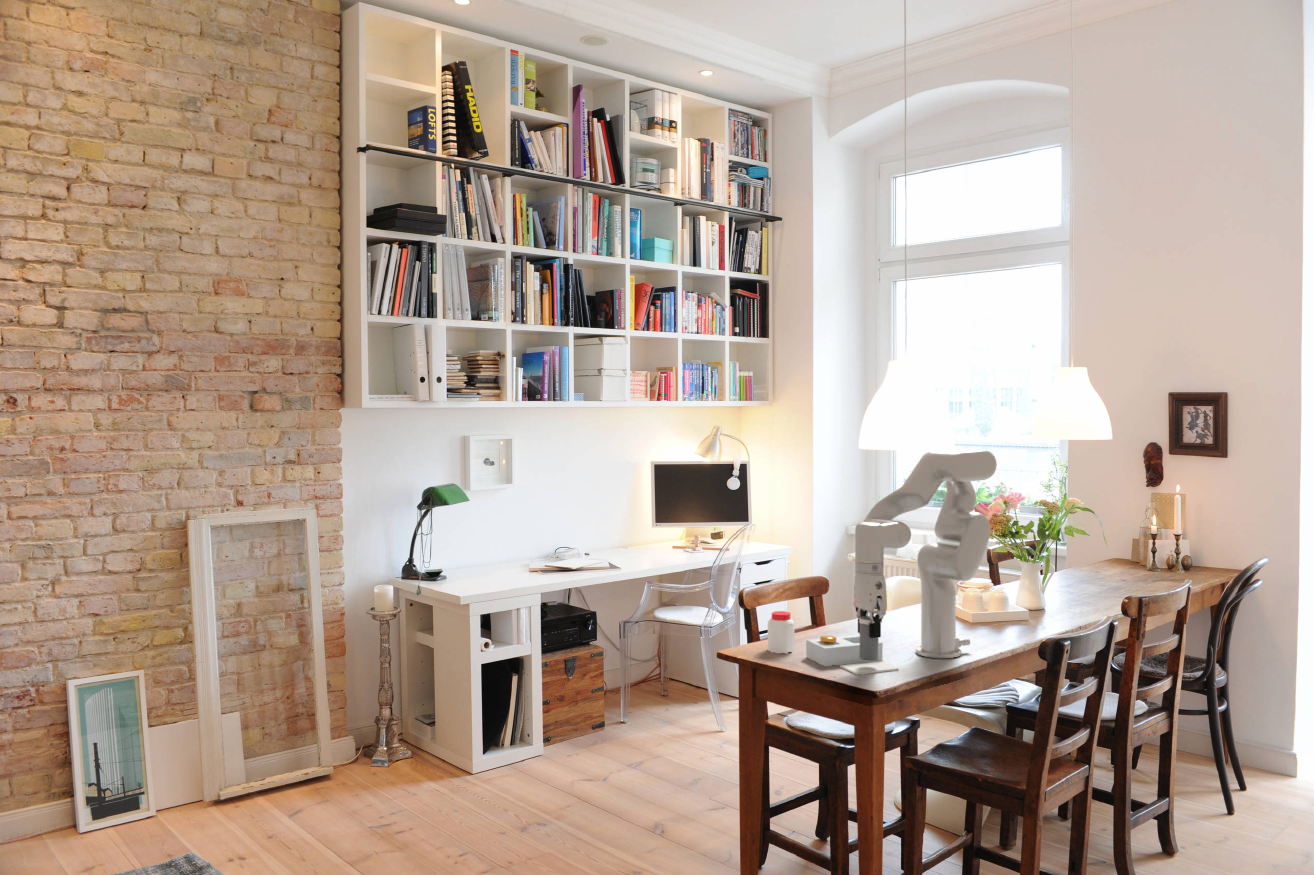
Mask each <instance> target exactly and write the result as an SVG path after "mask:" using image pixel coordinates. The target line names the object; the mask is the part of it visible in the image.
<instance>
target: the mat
mask: <svg viewBox="0 0 1314 875" xmlns="http://www.w3.org/2000/svg"><path fill="white" fill-rule="evenodd" d="M839 667H840V669H843V670H846V671H847V672H849V673H851V672H852V674H853V675H855V674H856V676H859V674H860V675H867V674H876V673H877V674H878V673H886V672H896V671H899V667H896V666H894V665H891V664H889V663H887V662H885V661H883V660H882V661H874V662H864V663H855V664H845V665H839Z"/></svg>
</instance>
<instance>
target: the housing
mask: <svg viewBox="0 0 1314 875" xmlns="http://www.w3.org/2000/svg"><path fill="white" fill-rule="evenodd" d="M835 637H836V642H835V645H826V646H824V645H822V642H821V641H820V638H812V639H811V638H810V639H805V640H806V643H805V646H806V647H805V648H806V654H805V657H806V656H807V657H808V658H807V657H806V658H807V659H809V658H810V659H809V660H811V659H812V660H811V661H813V660H814V661H813V662H815V661H816V662H815V663H817V662H818V663H817V664H819V663H820V664H819V665H821V664H822V665H821V666H823V665H824V666H823V667H825V666H826V667H833V666H832V665H836V666H840V665H844V664H845V665H848V664H858V663H867V662H877V661H883V642H881V641H880V640H878V660H873V661H869V660H862V659H860V658H859V655H860V634H853V635H852V634H851V635H845V636H843V635H842V636H841V635H840V636H835Z"/></svg>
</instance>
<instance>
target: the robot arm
mask: <svg viewBox="0 0 1314 875" xmlns="http://www.w3.org/2000/svg"><path fill="white" fill-rule="evenodd" d="M997 464H998V463H997V460H996V457H995V455H994V454H993V452H990V451H989V450H985V449H970V448H969V449H968V448H967V449H966V448H953V449H947V450H931V451H927V452H926V453H924V454H923V455H922V456H921V457H920V459H919V461H918V462H917V464H916V465H915V467H913V470H912V471H911V473H910V474H909V475H908V477H907V478H906V480H905V481H904V482H903V484H902V486H900V488H898V489H896V490H894V491H893V492H891V493H889V494H888V495H886V496H885V497H883V498H881V500H878V502H877V503H876V504H875V505H873V507H872V508H871V509H870V510H869V512H868V514H867V515H866V517H865V518H864V520H863V521H862V522H859V523H857V524H856V526H855V529H854V531H855V533H854V535H855V536H854V538H855V541H854V543H855V545H854V546H855V547H854V548H855V549H854V550H855V551H854V552H855V553H854V554H855V555H854V556H855V557H854V559H855V560H854V561H855V562H854V566H855V567H854V570H855V572H854V573H855V576H854V587H853V602H852V603H853V606H854V608H855V611H856V617H857V633H858V634H860V623H859V617H861V616H870V619H871V623H869V637H870V638H878V639H879V638H881V637H882V622H883V619H884V617H885V616H886V614H887V612H886V611H887V609H888V601H887V600H888V595H887V594H888V593H887V585H886V584H887V582H886V578H885V575H884V574H885V573H884V570H885V569H884V568H885V565H884V563H885V561H884V559H885V558H884V557H885V556H884V555H885V553H884V551H885V550H884V549H895V550H896V549H902V548H904V547H905V546H907V545H908V544H909V542H910V541H911V538H912V532H911V531H912V530H911V529H910V527H909V526H908V525H907V523H904V522H902V521H898V520H893V519H895V518H896V517H899V516H901V515H903V514H905V513H906V514H907V513H909V512H912V511H916V510H919V509H921V508H924V507H926V506H927V505H928V504H929V503H930V501H931V500H932V498H933V497H934V495H935V493H936V492H937V490H938V489H939V488H940V486H941V484H942V483H943V482H945V484H946V494H945V497H944V501H943V503H942V505H941V508H940V511H939V513H938V517H937V519H936V523H935V525H934V534H935V536H936V538H938V540H940V541H943V542H945V543H936V542H932V543H927V544H924V545H923V546H922V547H921V548H920V549H919V551H918V554H917V560H916V561H917V567H918V572H919V578H920V593H921V594H920V597H921V600H920V601H921V602H920V603H921V604H920V610H921V613H920V615H921V616H920V619H921V620H920V624H921V626H920V630H921V631H920V632H921V633H920V634H921V635H920V640H921V641H920V643H921V645H918V646H916V647H915V653H916V654H917V655H918V656H923V657H925V658H926V657H927V658H931V659H955V658H958V657H960V656H961V655H962V650H961V649H960V648H961V647H964V646H965V647H966V646H969V645H971V640H970V638H962V639H961V638H960V637H957V635H956V632H957V629H956V620H957V619H956V618H957V617H956V616H957V614H956V611H957V610H956V608H957V607H956V606H957V605H956V604H957V602H956V601H957V599H956V598H957V597H956V596H957V595H956V590H955V589H956V588H955V586H954V584H953V581H957V582H958V581H959V582H961V581H962V582H967V581H971V580H972V579H974V577H975V576H976V574H977V573H978V570H979V568H980V565H981V562H982V561H983V557H984V554H985V551H986V549H987V546H988V543H989V540H990V537H991V524H990V521H989V519H988V518H987V516H986V515H984V514H983V513H981V512H978V511H974V508H975V506H976V502H977V495H976V494H977V493H976V491H975V489H974V486H973V483H972V482H976V481H979V482H980V481H985V480H989V479H990V478H992V476H993V475H994V474H995V473H996V471H997ZM946 542H947V543H950V544H947V543H946ZM951 543H953V544H959V545H953V544H951ZM952 580H953V581H952ZM954 657H955V658H954Z"/></svg>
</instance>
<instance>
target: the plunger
mask: <svg viewBox="0 0 1314 875" xmlns="http://www.w3.org/2000/svg"><path fill="white" fill-rule="evenodd" d="M836 637H837V636H833V635H822V636H820V637H819V639H820V641H821V642H822V645H824V646H826V645H835V642H836Z"/></svg>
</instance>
